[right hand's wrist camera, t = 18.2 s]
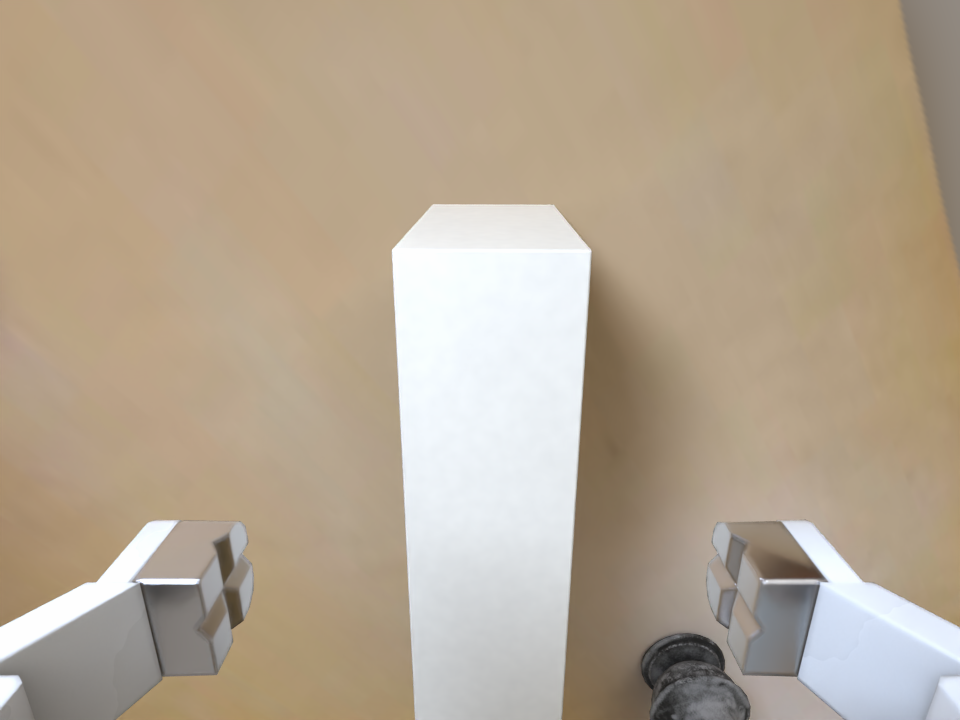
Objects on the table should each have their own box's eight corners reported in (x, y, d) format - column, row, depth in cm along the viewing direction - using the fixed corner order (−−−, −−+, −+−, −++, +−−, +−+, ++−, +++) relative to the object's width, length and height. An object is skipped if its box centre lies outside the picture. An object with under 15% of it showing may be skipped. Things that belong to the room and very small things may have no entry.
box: (432, 204, 30) (391, 248, 18) (554, 204, 30) (592, 249, 18) (442, 614, 39) (419, 823, 27) (537, 616, 39) (555, 826, 27)
